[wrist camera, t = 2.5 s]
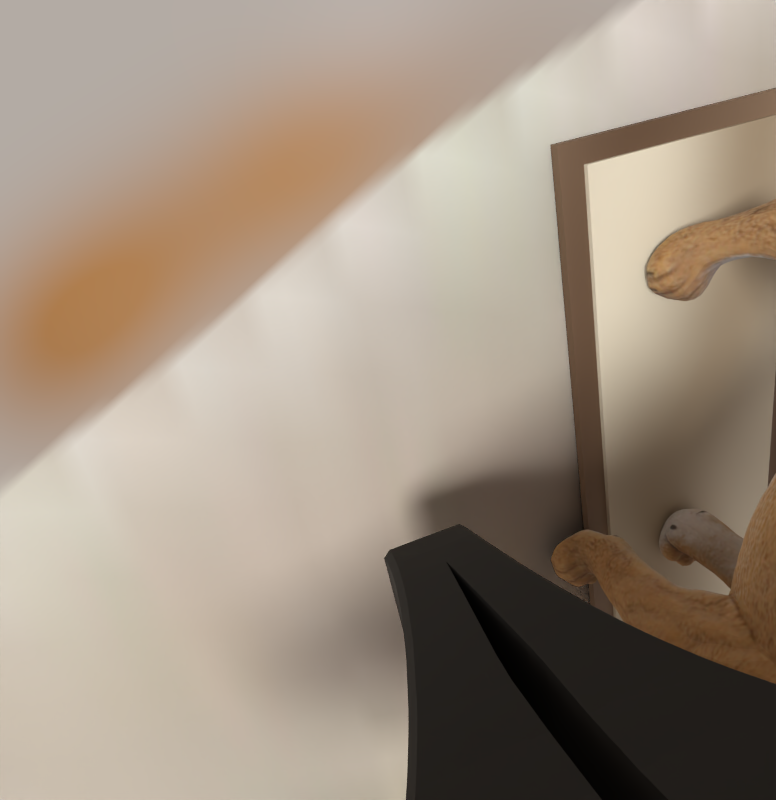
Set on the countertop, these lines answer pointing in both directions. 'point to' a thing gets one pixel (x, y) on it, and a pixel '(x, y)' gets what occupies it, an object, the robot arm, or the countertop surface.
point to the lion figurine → (694, 528)
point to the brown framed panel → (668, 328)
